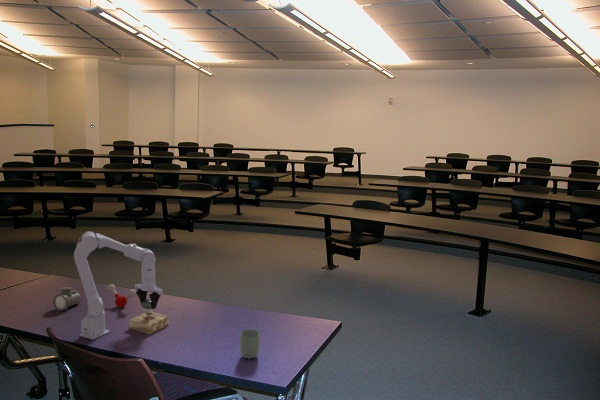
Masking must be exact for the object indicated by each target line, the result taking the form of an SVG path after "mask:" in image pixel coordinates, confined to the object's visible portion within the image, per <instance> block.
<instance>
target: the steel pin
mask: <svg viewBox="0 0 600 400" xmlns="http://www.w3.org/2000/svg"><path fill="white" fill-rule="evenodd" d="M141 308H143V309H144V311H145V312H144V313H145V315H152V312H153V309H152V307H151V299H150V298H148V299H147V298H146V300H143V301H142V306H141Z"/></svg>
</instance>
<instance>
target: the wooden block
mask: <svg viewBox="0 0 600 400" xmlns="http://www.w3.org/2000/svg"><path fill="white" fill-rule="evenodd" d="M169 318H170V317H169V315H165V314H161V313H157V312H153V311H152V315H145V312H143V313H141V314H139V315H137V316H135V317H133V318H130V319H128V324H129V325H128V329H130V330H134V331H137V332H141V333H144V334H146V335H147V334H148V335H151V334H154V333H156V332H157V331H159V330H162V329H164V328H165V327H167V326H169V325H170V322H169V321H170V320H169Z"/></svg>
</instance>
